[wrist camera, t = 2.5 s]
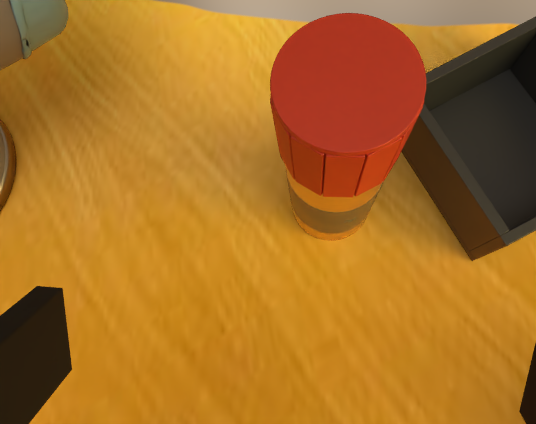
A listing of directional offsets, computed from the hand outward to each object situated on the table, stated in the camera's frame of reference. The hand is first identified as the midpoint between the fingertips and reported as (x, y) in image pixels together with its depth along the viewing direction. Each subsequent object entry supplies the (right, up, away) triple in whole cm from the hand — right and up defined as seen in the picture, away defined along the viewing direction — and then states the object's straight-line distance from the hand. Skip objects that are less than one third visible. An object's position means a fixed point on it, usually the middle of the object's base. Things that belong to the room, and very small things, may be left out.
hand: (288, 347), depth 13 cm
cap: (+4, +8, +14) cm, 17 cm away
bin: (+19, +8, +28) cm, 34 cm away
